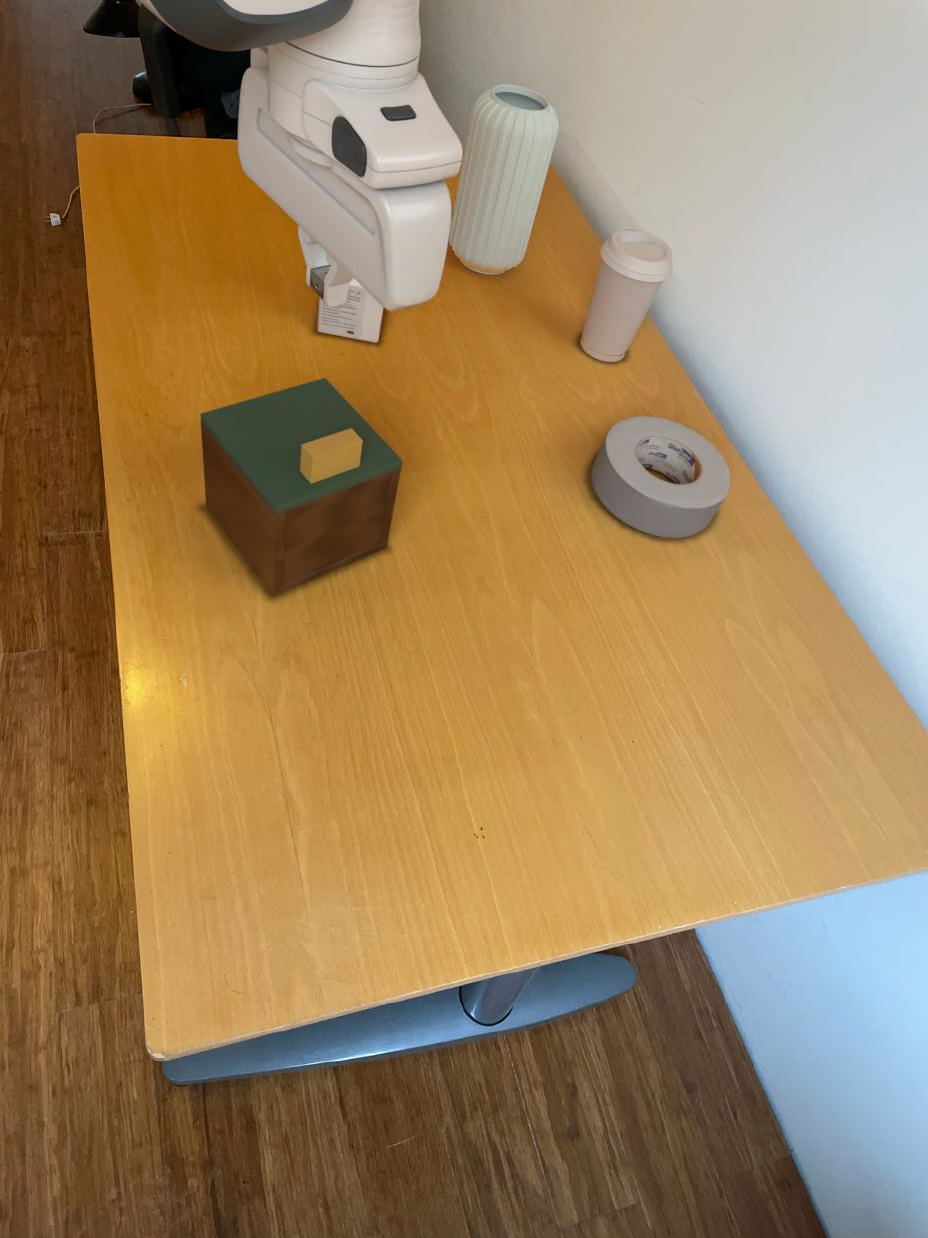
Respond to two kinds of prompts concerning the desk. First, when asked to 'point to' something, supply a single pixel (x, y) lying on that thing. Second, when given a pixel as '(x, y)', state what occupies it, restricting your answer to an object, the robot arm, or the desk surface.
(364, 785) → the desk surface
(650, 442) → the tape roll
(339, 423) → the lid
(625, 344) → the coffee cup
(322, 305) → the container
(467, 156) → the vase
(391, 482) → the box
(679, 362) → the desk surface
